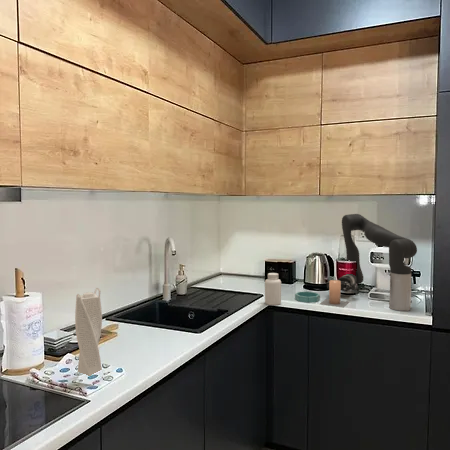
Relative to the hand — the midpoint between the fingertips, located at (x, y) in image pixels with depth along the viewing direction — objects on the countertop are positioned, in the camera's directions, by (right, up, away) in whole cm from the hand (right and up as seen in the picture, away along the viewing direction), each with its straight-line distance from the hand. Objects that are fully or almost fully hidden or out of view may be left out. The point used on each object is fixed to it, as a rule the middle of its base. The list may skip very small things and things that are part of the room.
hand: (337, 288), depth 219 cm
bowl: (-15, -7, +3) cm, 16 cm away
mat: (-3, -7, -4) cm, 9 cm away
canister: (-3, -7, -4) cm, 8 cm away
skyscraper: (-97, -14, -91) cm, 133 cm away
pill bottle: (-33, -7, -3) cm, 34 cm away
